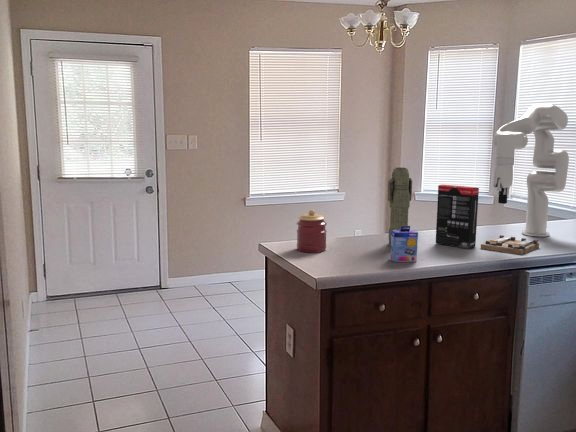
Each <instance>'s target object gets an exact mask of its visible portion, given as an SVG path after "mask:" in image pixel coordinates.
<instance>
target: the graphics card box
mask: <svg viewBox="0 0 576 432" xmlns="http://www.w3.org/2000/svg"><path fill="white" fill-rule="evenodd" d="M437 189H438V190H437V203H436V204H437V205H436V206H437V208H436V209H437V211H436V224H435V225H436V228H435V243H436V244H439V245H445V246H450V247H456V248H460V249H461V248H462V249H467V250H470V249H473V248H474V247H475V248H476V241H477V225H478V221H477V220H478V207H479V192H480V187H475V186H465V185H455V184H454V185H453V184H438V186H437Z"/></svg>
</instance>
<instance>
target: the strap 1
mask: <svg viewBox="0 0 576 432" xmlns="http://www.w3.org/2000/svg"><path fill="white" fill-rule="evenodd" d="M495 239H496V240H494V239H490V240H489V241H490V243H492V244H497V243H498V242H501V243H502V242H505V241H508V240H511V237H505V236H504V237H503V238H500V239H497V238H495Z"/></svg>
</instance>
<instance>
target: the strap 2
mask: <svg viewBox="0 0 576 432" xmlns="http://www.w3.org/2000/svg"><path fill="white" fill-rule="evenodd" d="M531 243H533V240H528V239H526V240H525V241H522V242H519V243H513V245H512V247H520V246H525V245H528V244H531Z"/></svg>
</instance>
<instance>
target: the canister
mask: <svg viewBox="0 0 576 432" xmlns="http://www.w3.org/2000/svg"><path fill="white" fill-rule="evenodd" d="M298 219H299V221H297V222H296V225H297V229H296V248H297V249H298V250H297V251H299V252H303V253H311V252H313V253H322V252H325V251H326V249H327V232H328V231H327V229H326V228H327V227H326V226H327V223H328V222H326V221H325V217H324V216H323V215H322V214H319V213H316V212H315V210H314V209H310V210H309V211H308V213H304V214H302V215H300V216H299V217H298Z"/></svg>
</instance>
